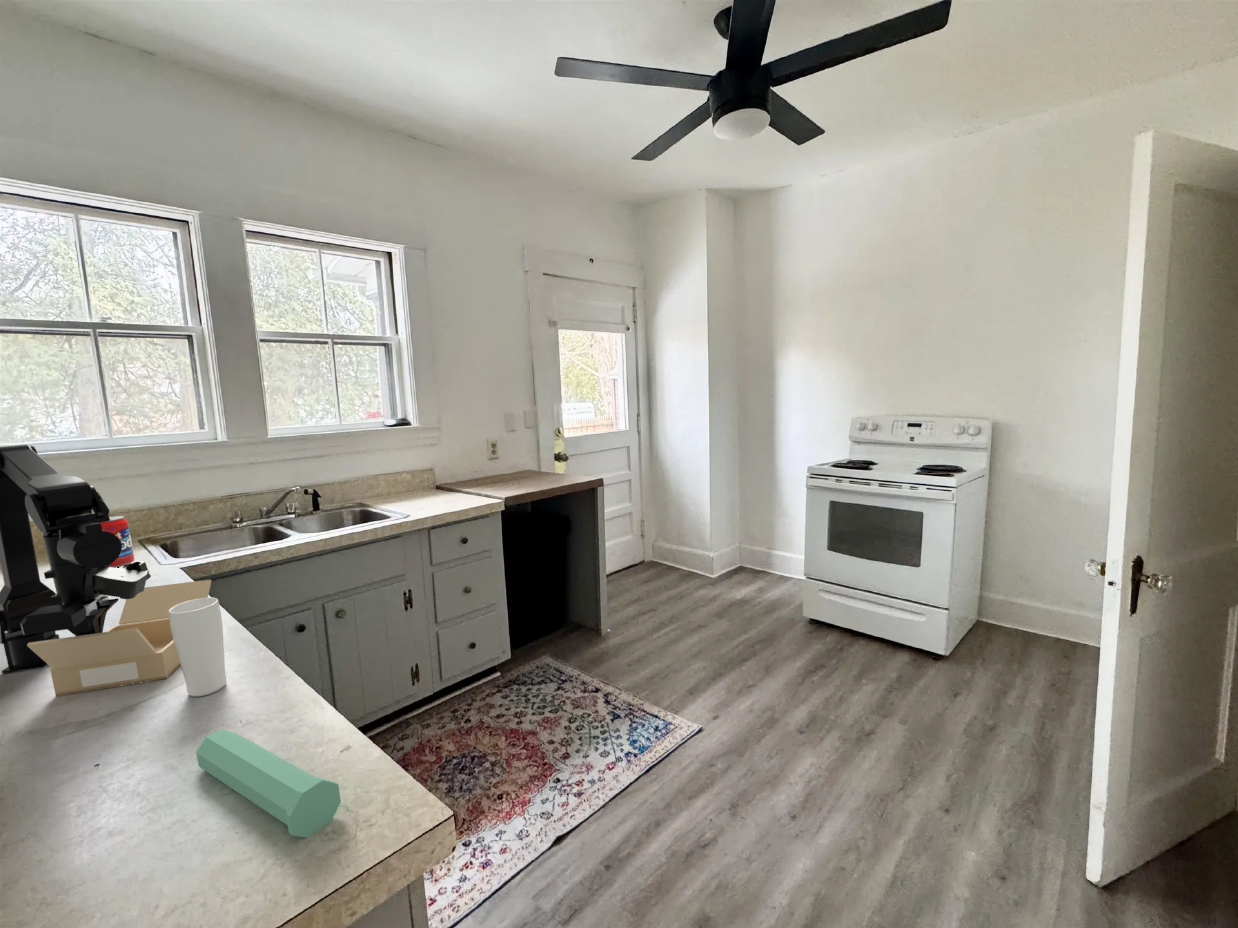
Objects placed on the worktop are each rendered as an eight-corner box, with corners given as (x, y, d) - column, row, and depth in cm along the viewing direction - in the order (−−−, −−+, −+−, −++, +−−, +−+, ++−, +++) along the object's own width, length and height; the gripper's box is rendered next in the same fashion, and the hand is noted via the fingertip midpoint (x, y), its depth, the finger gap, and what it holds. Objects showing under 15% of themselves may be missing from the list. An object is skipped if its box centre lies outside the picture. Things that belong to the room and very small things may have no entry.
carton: (55, 697, 94) (49, 669, 93) (119, 649, 111) (114, 625, 110) (166, 679, 98) (161, 652, 97) (211, 635, 115) (207, 613, 114)
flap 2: (129, 589, 115) (130, 590, 115) (118, 623, 110) (119, 624, 111) (210, 579, 118) (211, 580, 119) (203, 612, 114) (204, 613, 114)
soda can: (114, 562, 174) (106, 516, 172) (141, 560, 175) (133, 514, 173) (94, 570, 166) (84, 522, 164) (122, 568, 167) (113, 520, 165)
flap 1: (54, 666, 93) (53, 669, 93) (28, 642, 88) (26, 645, 88) (156, 651, 97) (155, 653, 97) (137, 627, 92) (135, 630, 92)
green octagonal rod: (193, 725, 73) (296, 786, 60) (241, 719, 78) (346, 774, 65) (179, 774, 72) (282, 846, 59) (229, 764, 77) (334, 829, 63)
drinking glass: (206, 701, 90) (191, 614, 87) (171, 699, 91) (156, 612, 89) (241, 679, 96) (228, 597, 94) (209, 677, 97) (196, 596, 95)
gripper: (99, 571, 83) (121, 667, 86) (162, 536, 101) (178, 616, 103) (6, 583, 80) (32, 681, 83) (87, 544, 98) (106, 626, 100)
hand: (95, 647), depth 92 cm, fingers closed, pressing on flap 1
